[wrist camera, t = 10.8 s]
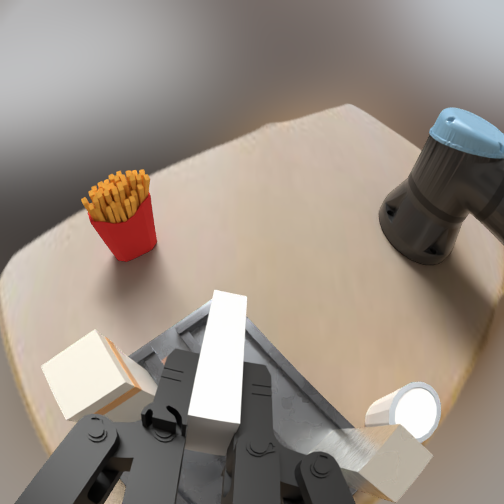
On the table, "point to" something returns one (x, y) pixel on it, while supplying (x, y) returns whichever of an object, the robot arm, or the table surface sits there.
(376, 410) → the white short cylinder
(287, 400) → the breaker panel
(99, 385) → the handle
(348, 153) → the table surface
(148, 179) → the french fries
